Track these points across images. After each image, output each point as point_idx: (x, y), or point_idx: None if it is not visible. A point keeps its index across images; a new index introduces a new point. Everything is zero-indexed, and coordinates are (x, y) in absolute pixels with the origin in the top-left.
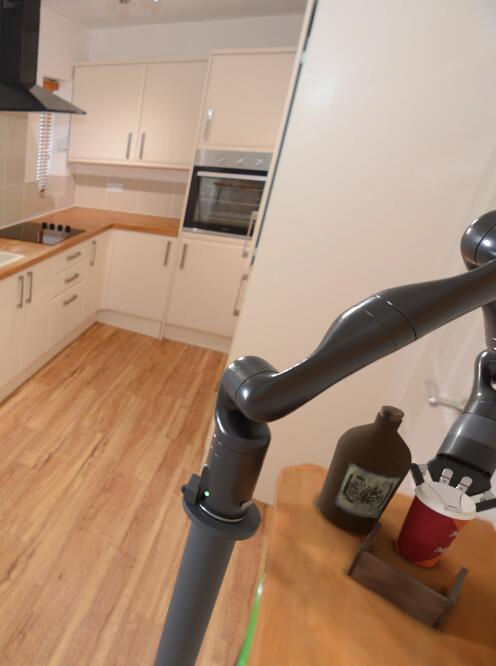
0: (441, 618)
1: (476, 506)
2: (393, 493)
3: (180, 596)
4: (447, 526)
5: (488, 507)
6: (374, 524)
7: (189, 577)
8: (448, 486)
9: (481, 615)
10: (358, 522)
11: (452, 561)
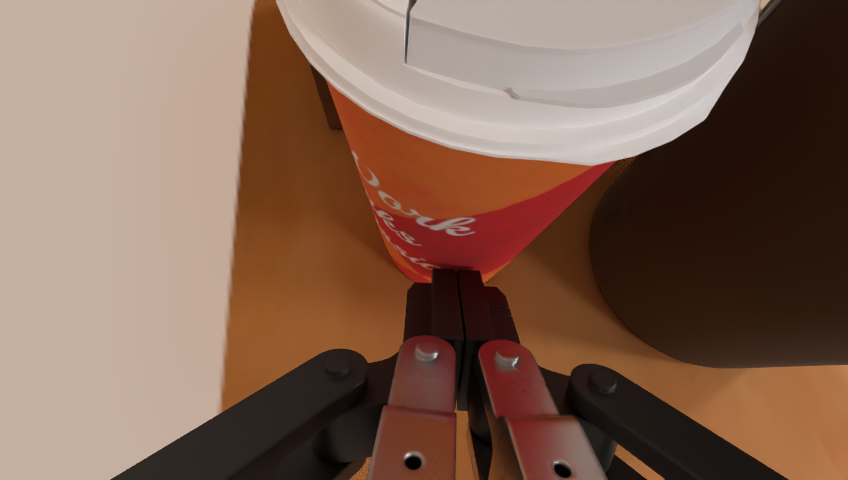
0: None
1: (252, 430)
2: (752, 54)
3: None
4: None
5: (148, 460)
6: (608, 203)
7: None
8: (585, 22)
9: (257, 105)
10: None
11: (335, 296)
